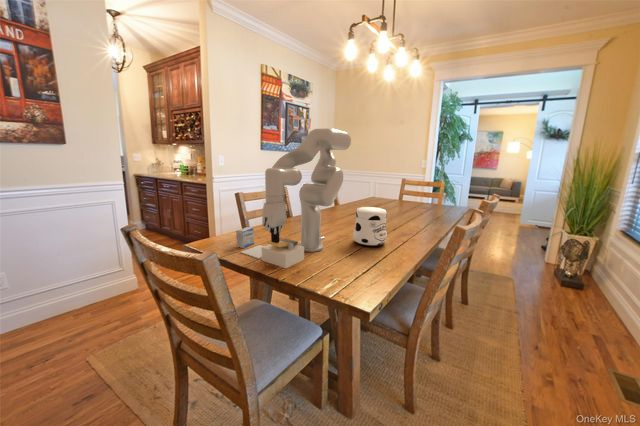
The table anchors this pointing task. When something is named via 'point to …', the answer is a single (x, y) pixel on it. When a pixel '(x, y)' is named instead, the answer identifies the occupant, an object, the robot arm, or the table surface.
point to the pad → (254, 252)
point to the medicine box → (245, 237)
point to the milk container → (370, 226)
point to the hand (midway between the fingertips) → (275, 242)
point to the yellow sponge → (282, 242)
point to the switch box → (283, 255)
